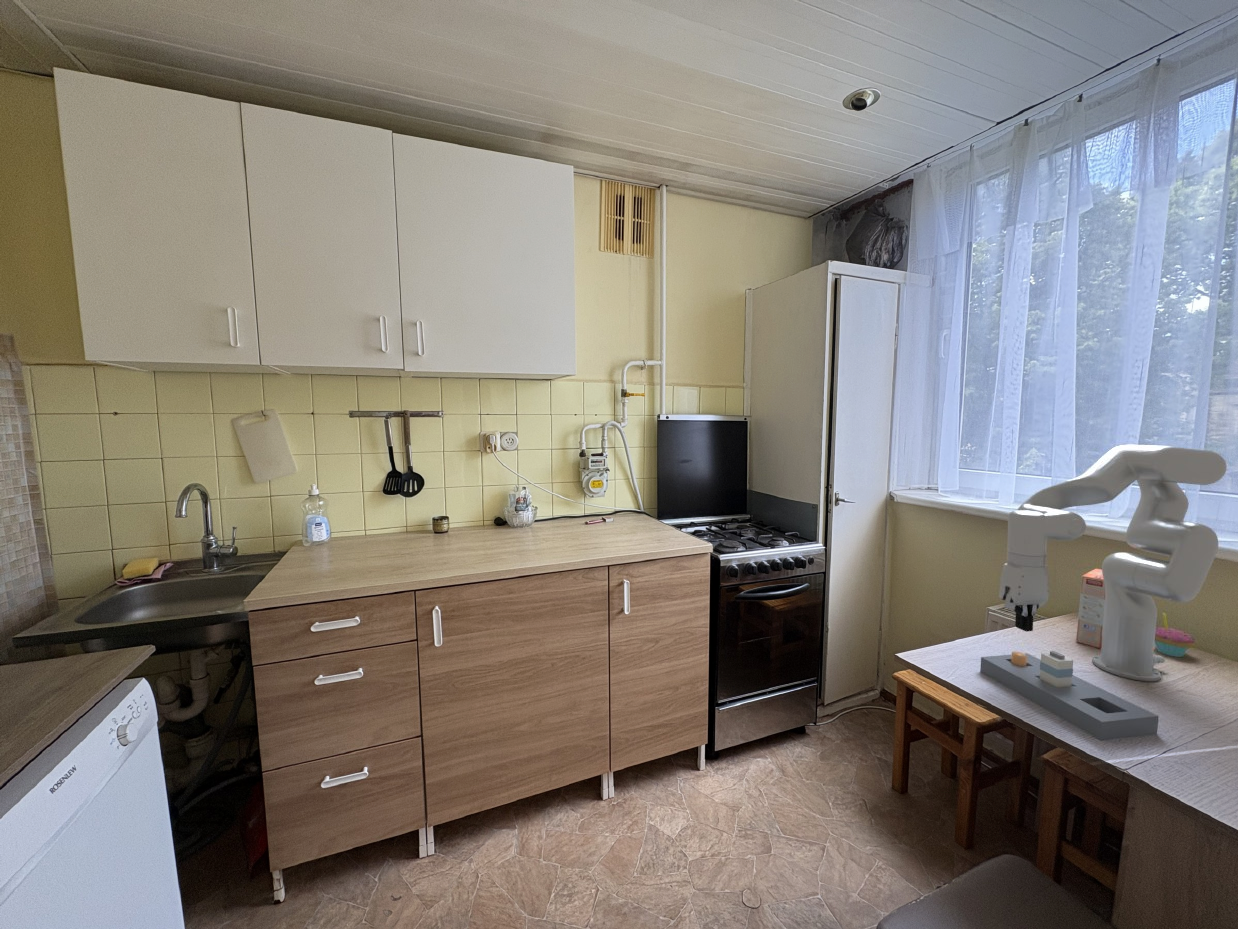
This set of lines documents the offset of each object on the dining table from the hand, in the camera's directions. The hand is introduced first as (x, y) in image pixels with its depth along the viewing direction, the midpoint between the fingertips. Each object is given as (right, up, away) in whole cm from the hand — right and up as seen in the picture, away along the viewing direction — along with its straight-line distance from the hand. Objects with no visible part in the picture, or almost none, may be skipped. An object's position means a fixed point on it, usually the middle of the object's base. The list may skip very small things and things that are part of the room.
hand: (1023, 629), depth 122 cm
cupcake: (+55, -12, +15) cm, 58 cm away
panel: (+1, -14, -9) cm, 17 cm away
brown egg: (-1, -13, +1) cm, 13 cm away
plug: (0, -14, -8) cm, 16 cm away
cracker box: (+42, -12, +23) cm, 49 cm away
